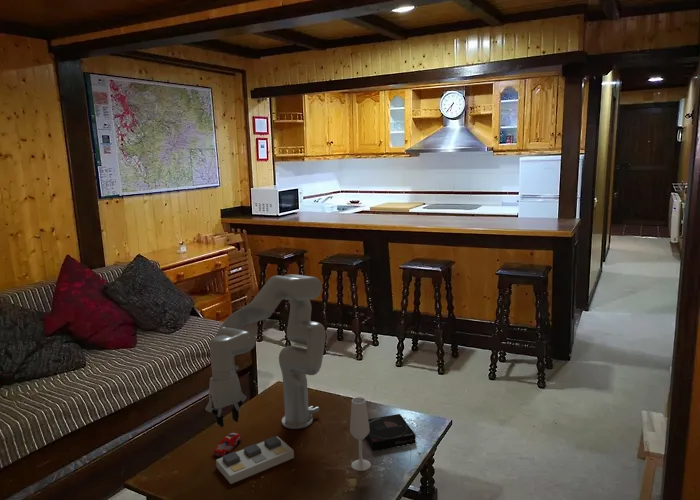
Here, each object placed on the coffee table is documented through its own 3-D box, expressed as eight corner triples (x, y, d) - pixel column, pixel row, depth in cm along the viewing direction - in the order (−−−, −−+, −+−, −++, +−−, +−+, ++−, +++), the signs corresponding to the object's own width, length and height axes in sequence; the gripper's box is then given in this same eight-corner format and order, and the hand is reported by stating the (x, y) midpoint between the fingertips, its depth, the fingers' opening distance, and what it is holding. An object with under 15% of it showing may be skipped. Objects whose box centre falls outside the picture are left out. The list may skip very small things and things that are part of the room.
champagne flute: (357, 472, 180) (354, 407, 176) (347, 462, 186) (345, 398, 182) (374, 466, 183) (372, 401, 179) (364, 457, 189) (362, 394, 185)
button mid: (255, 451, 193) (255, 443, 192) (261, 456, 189) (260, 449, 189) (244, 455, 190) (243, 448, 190) (250, 461, 187) (249, 453, 186)
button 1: (235, 459, 188) (234, 451, 188) (240, 465, 185) (239, 457, 184) (223, 464, 186) (222, 456, 185) (228, 469, 182) (227, 461, 182)
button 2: (275, 443, 197) (275, 436, 197) (281, 448, 194) (280, 441, 193) (264, 447, 195) (264, 440, 194) (270, 453, 191) (269, 445, 191)
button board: (277, 443, 200) (277, 435, 199) (293, 457, 190) (293, 449, 190) (216, 467, 186) (216, 459, 186) (230, 484, 177) (230, 475, 176)
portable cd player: (399, 422, 213) (399, 413, 212) (415, 444, 197) (415, 434, 196) (359, 429, 209) (359, 419, 208) (372, 452, 193) (372, 442, 192)
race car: (223, 459, 191) (222, 449, 191) (211, 457, 194) (210, 447, 193) (243, 440, 203) (243, 431, 203) (231, 438, 205) (231, 428, 205)
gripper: (242, 362, 187) (246, 411, 190) (195, 376, 177) (200, 426, 180) (251, 369, 181) (255, 419, 184) (203, 383, 171) (208, 435, 174)
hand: (228, 422), depth 182 cm, fingers open, 4 cm apart
